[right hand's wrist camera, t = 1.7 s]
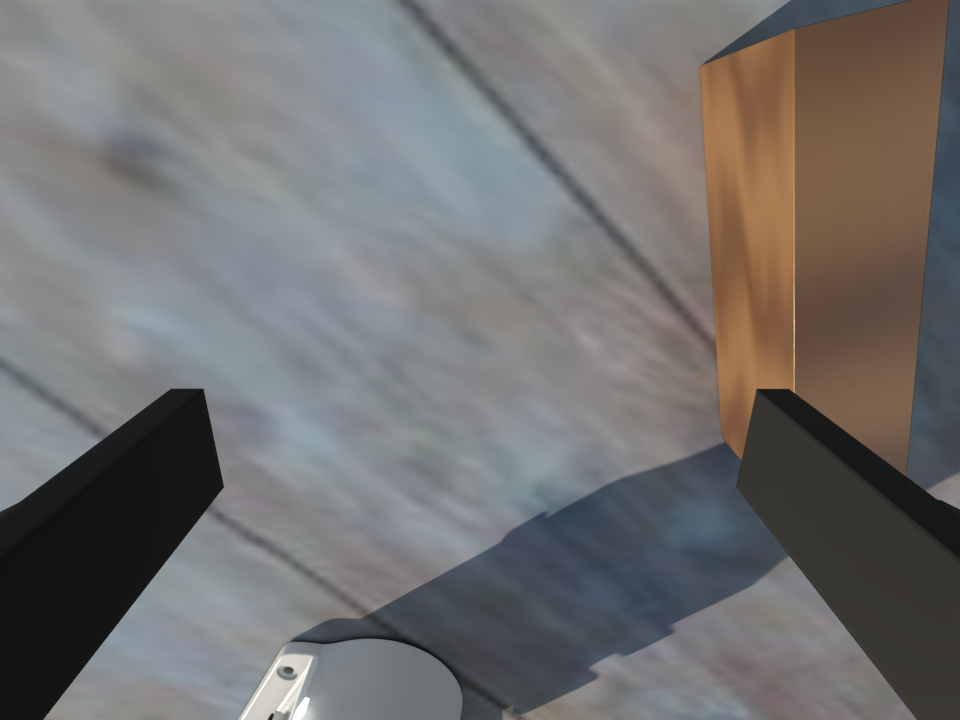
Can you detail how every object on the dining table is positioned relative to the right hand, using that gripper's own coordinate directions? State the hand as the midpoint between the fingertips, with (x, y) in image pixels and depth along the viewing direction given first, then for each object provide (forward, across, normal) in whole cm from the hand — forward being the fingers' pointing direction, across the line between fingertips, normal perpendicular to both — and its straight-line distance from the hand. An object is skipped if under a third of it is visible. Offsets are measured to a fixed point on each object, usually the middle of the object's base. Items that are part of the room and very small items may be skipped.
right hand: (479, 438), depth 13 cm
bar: (+20, +16, 0) cm, 26 cm away
